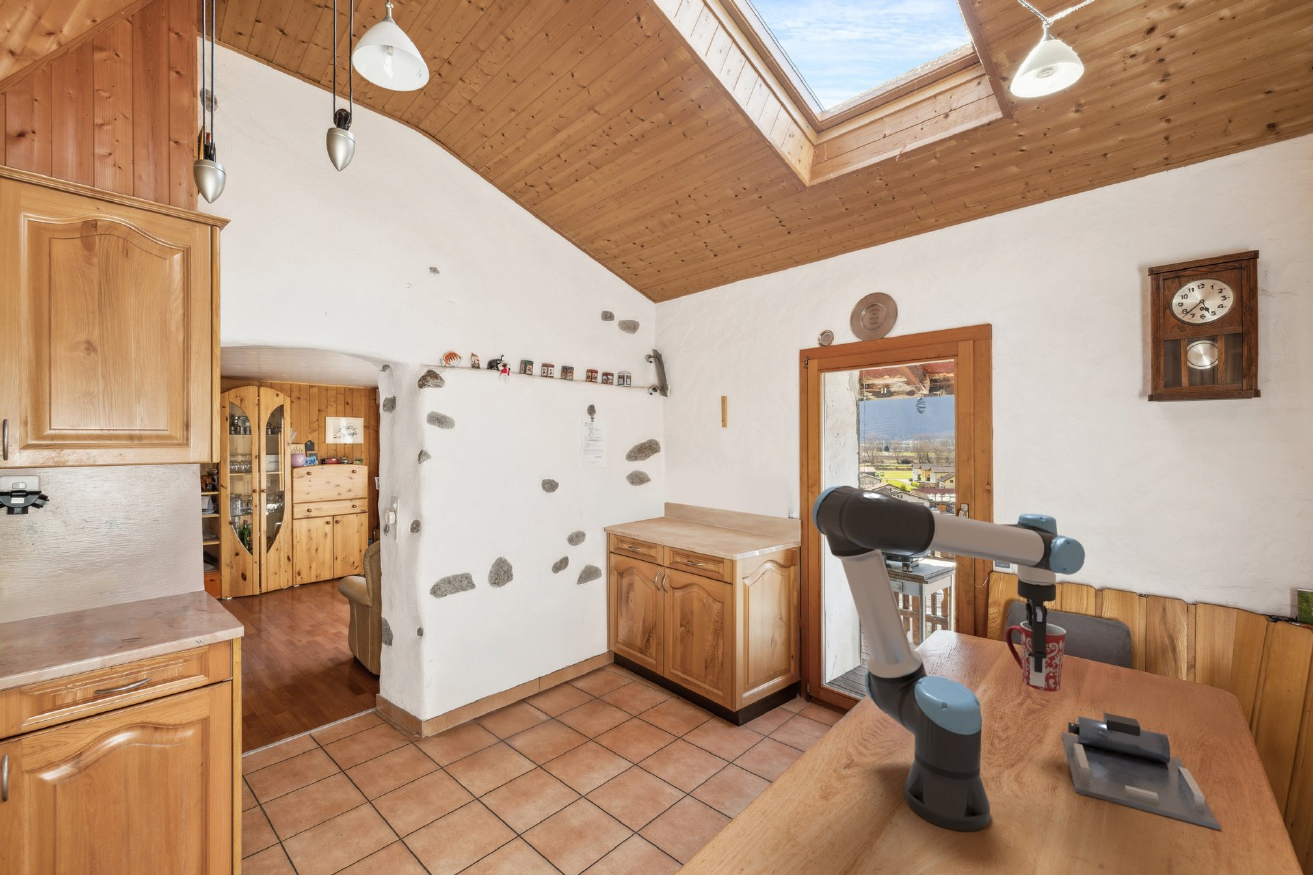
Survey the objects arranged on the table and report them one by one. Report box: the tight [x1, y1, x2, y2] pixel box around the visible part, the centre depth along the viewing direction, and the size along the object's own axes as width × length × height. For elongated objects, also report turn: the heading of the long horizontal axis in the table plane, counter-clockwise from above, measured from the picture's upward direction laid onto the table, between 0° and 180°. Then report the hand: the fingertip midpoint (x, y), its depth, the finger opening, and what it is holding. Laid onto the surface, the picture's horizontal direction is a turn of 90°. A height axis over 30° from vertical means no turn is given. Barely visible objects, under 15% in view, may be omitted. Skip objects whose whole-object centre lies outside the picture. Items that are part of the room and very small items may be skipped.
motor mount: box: [1060, 712, 1220, 831], centre depth 125 cm, size 26×22×8 cm
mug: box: [1005, 620, 1067, 693], centre depth 135 cm, size 13×9×14 cm
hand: (1035, 677), depth 134 cm, fingers closed on mug, 8 cm apart
